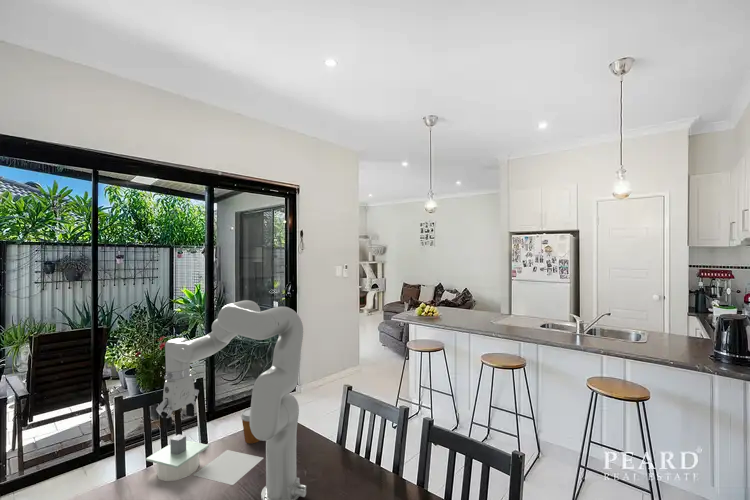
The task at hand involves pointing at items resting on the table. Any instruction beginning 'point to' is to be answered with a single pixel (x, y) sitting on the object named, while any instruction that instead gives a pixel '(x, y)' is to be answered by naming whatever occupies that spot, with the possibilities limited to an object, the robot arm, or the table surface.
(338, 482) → the table surface
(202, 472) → the mat
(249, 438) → the disposable coffee cup
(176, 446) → the lid
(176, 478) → the bowl
